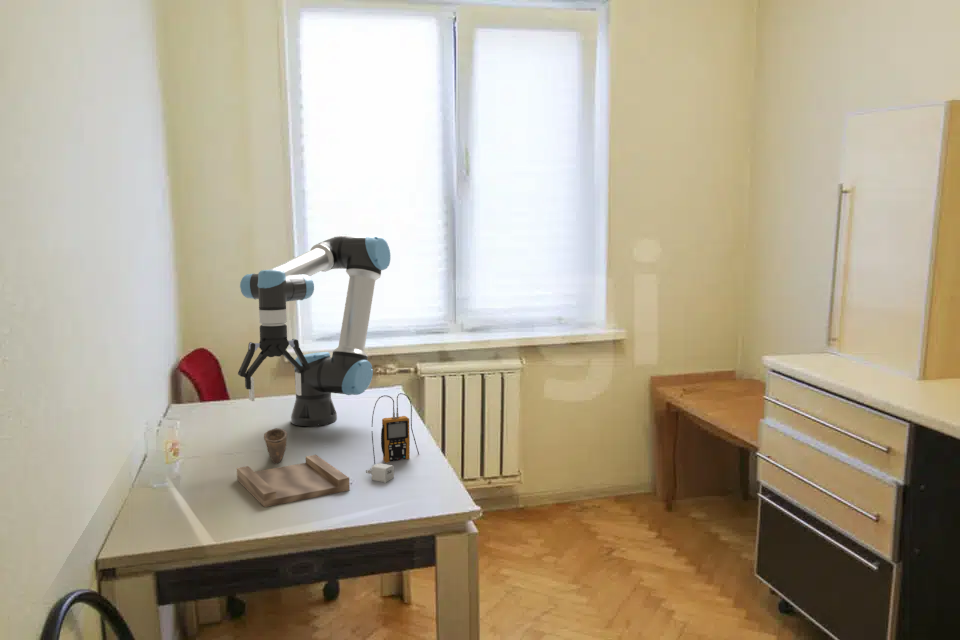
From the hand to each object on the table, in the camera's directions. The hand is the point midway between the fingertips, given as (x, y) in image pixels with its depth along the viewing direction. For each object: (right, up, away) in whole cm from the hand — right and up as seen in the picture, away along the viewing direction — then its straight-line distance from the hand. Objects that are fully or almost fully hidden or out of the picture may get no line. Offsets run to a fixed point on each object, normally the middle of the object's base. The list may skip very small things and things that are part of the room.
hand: (275, 397), depth 220 cm
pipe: (0, -19, +3) cm, 19 cm away
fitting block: (+10, -21, -20) cm, 31 cm away
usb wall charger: (+32, -21, -16) cm, 41 cm away
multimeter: (+36, -19, -4) cm, 41 cm away
